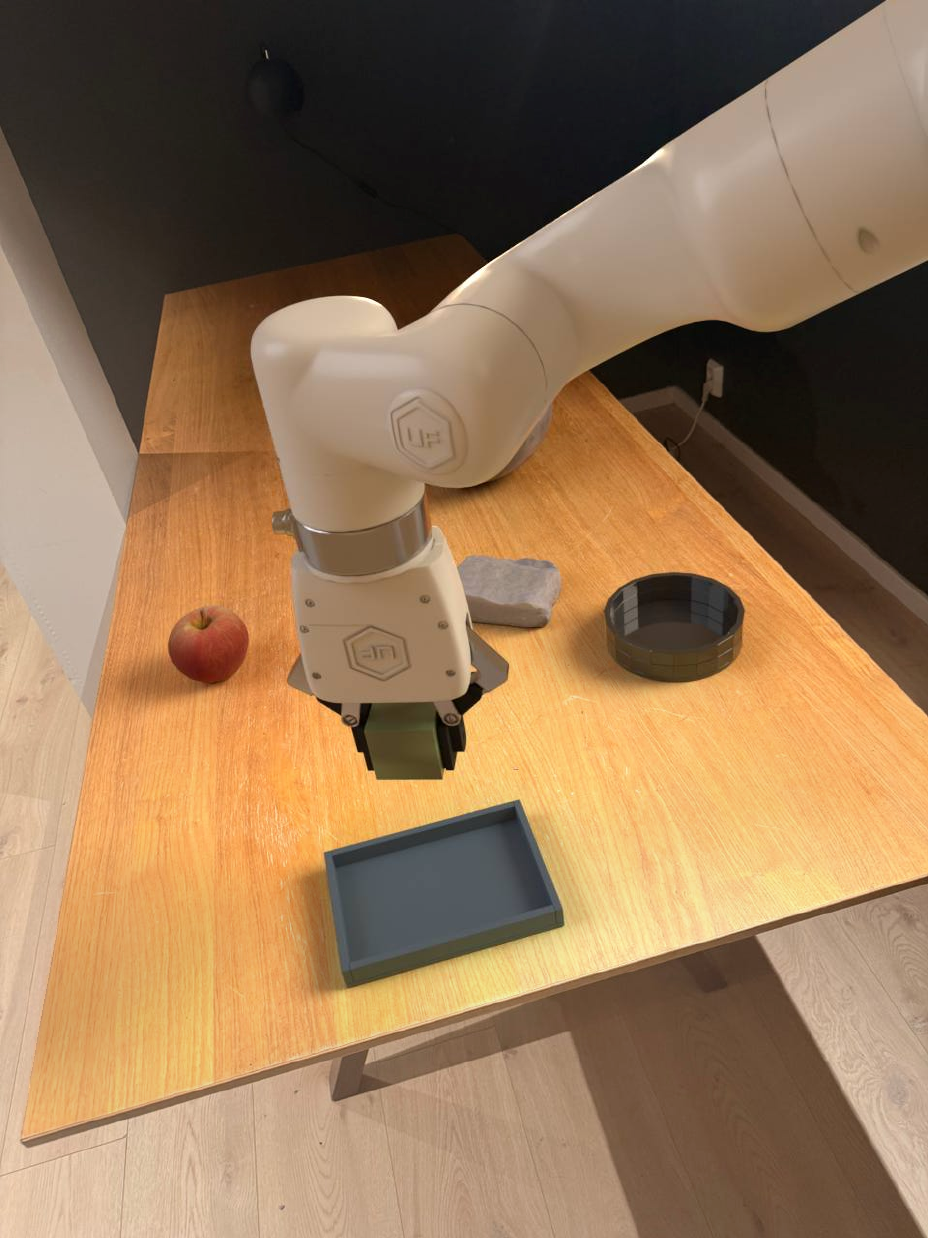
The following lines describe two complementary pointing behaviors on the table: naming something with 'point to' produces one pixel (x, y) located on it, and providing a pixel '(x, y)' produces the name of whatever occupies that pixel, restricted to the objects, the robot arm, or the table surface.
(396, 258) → the table surface
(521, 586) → the stone block
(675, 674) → the pan
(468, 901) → the tray
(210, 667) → the apple
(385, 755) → the block
